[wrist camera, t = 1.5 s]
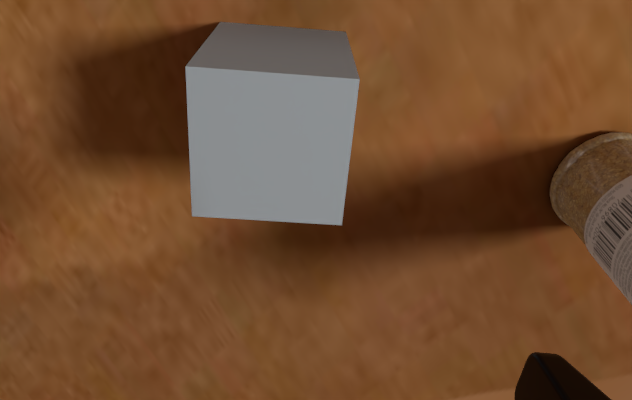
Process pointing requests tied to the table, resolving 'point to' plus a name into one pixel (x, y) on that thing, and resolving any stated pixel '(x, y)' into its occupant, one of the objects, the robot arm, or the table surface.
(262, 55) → the grey block
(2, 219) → the table surface
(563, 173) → the sprinkles bottle
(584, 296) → the table surface
